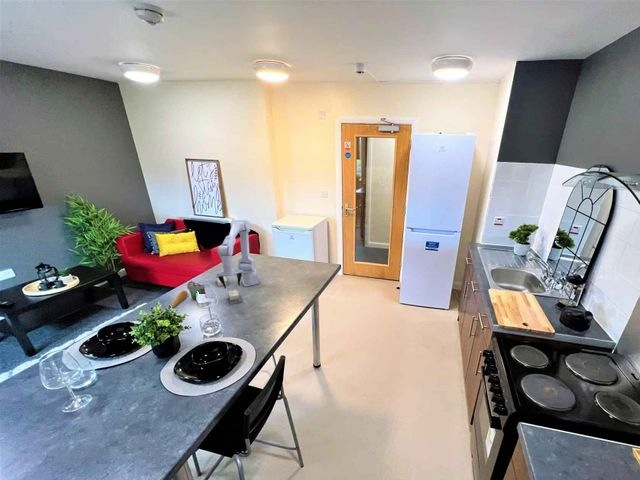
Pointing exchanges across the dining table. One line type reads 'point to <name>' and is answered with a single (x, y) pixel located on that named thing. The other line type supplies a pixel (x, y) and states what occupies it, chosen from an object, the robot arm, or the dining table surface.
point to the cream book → (233, 294)
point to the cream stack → (220, 281)
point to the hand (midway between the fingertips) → (232, 286)
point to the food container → (195, 289)
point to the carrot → (179, 298)
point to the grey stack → (234, 300)
